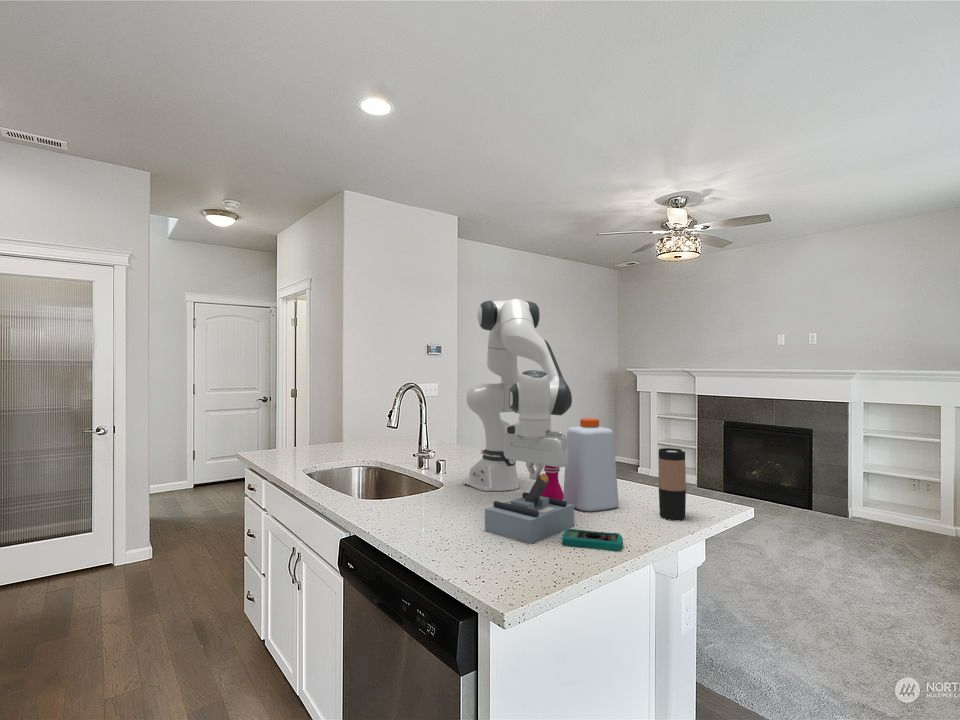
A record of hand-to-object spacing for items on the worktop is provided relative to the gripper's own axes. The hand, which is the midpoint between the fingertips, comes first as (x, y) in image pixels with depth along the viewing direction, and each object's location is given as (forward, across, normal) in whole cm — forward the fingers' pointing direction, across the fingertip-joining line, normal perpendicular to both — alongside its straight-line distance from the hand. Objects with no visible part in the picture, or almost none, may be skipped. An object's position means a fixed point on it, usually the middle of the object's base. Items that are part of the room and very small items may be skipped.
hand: (534, 479), depth 139 cm
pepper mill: (+14, +8, -19) cm, 25 cm away
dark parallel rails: (+8, +2, 0) cm, 8 cm away
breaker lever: (+7, +2, 0) cm, 7 cm away
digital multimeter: (+15, -17, -1) cm, 23 cm away
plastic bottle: (+14, +2, -32) cm, 35 cm away
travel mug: (+14, -23, -38) cm, 46 cm away
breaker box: (+14, +2, 0) cm, 14 cm away
